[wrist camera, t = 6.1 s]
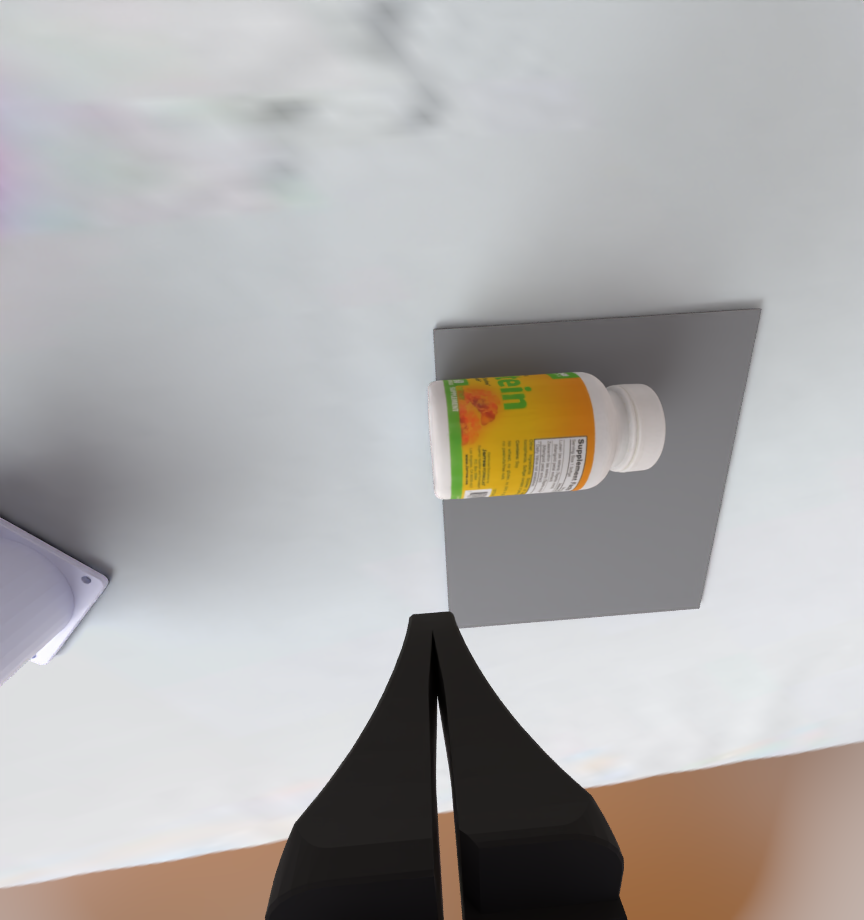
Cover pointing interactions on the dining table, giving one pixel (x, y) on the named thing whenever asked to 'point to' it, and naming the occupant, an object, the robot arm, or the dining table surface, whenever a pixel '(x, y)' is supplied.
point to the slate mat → (620, 493)
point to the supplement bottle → (538, 433)
